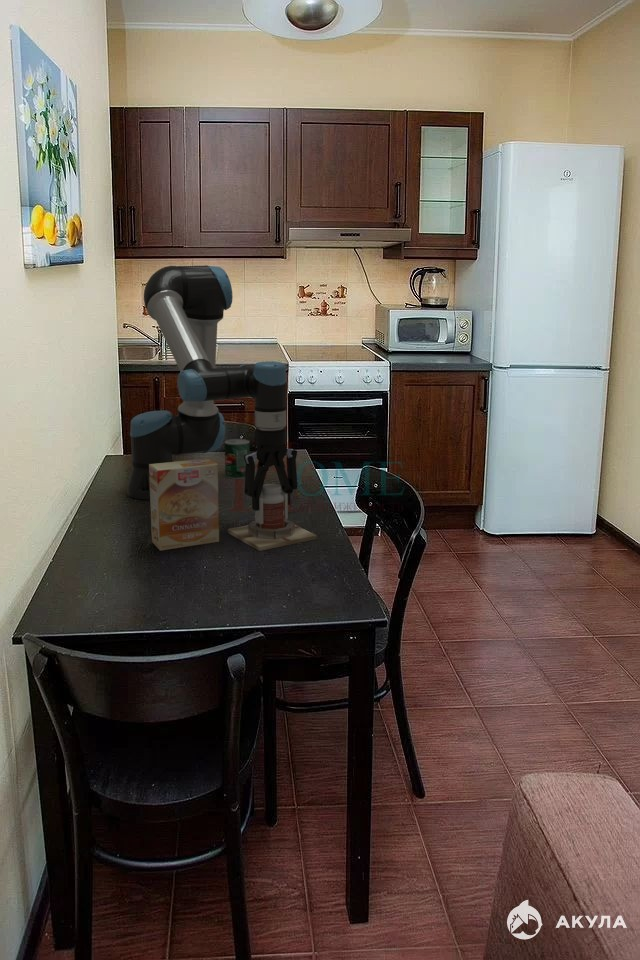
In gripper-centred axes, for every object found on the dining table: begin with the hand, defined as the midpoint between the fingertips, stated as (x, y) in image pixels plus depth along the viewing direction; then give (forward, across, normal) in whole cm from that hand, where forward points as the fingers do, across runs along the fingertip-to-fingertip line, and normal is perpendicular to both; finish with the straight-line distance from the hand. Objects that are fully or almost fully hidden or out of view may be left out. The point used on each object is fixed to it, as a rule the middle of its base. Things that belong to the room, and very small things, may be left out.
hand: (271, 520), depth 207 cm
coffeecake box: (+4, -20, +7) cm, 21 cm away
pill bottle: (+3, 0, 0) cm, 3 cm away
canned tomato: (+4, +21, +57) cm, 61 cm away
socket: (+4, 0, 0) cm, 4 cm away
